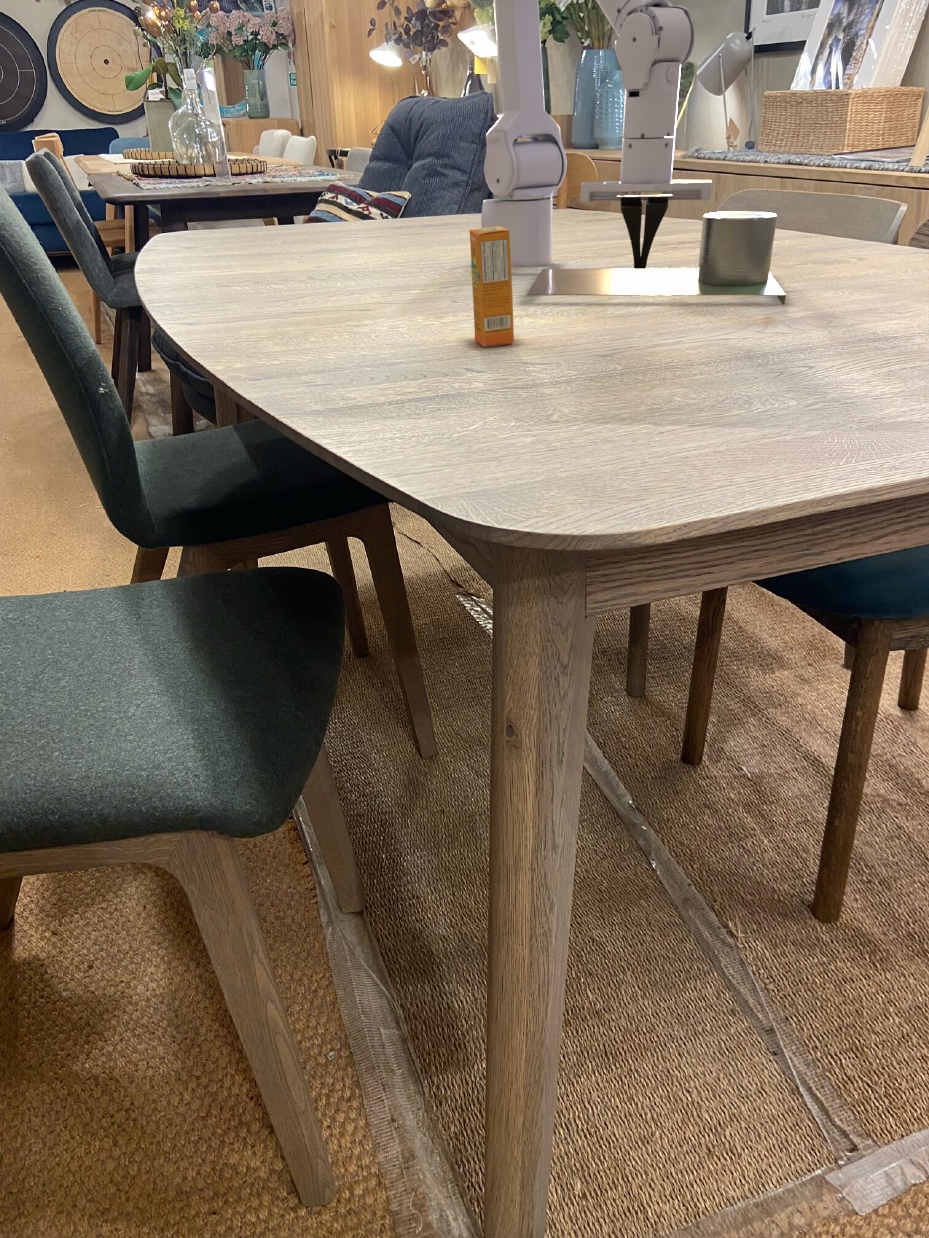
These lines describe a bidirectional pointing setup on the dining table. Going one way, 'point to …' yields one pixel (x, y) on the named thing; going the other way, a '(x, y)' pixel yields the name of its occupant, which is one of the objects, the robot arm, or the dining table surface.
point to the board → (640, 283)
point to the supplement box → (492, 286)
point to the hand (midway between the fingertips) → (639, 268)
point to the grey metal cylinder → (736, 248)
